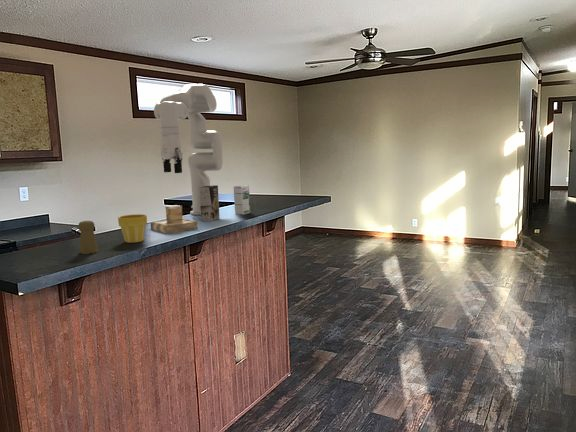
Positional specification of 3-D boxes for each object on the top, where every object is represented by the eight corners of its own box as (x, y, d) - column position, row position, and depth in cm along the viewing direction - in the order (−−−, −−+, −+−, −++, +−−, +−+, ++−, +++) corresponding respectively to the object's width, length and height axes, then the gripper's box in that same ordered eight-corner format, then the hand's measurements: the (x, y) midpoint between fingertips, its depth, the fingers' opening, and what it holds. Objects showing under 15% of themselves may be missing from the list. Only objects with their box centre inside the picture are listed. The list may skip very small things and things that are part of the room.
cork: (101, 251, 167) (98, 220, 165) (84, 254, 162) (81, 223, 161) (93, 249, 171) (90, 219, 169) (76, 252, 166) (73, 221, 165)
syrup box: (243, 214, 241) (241, 186, 239) (234, 214, 245) (233, 185, 242) (250, 213, 246) (249, 185, 243) (242, 212, 249) (240, 184, 247)
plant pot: (128, 238, 189) (126, 213, 188) (153, 238, 188) (151, 213, 186) (114, 243, 179) (112, 218, 178) (140, 244, 177) (138, 218, 176)
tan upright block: (166, 222, 206) (165, 206, 205) (177, 220, 210) (176, 204, 209) (171, 223, 202) (170, 207, 201) (183, 222, 206) (181, 205, 205)
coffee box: (213, 221, 224) (211, 186, 222) (200, 221, 226) (198, 187, 223) (220, 218, 233) (218, 185, 231) (207, 217, 234) (205, 185, 232)
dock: (150, 228, 209) (149, 221, 209) (179, 224, 218) (178, 217, 217) (167, 233, 197) (167, 225, 196) (197, 228, 206) (197, 221, 205)
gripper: (152, 132, 205) (155, 172, 207) (171, 131, 192) (174, 174, 194) (168, 132, 209) (171, 171, 212) (188, 131, 196) (190, 172, 199)
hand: (172, 172), depth 203 cm, fingers open, 9 cm apart
